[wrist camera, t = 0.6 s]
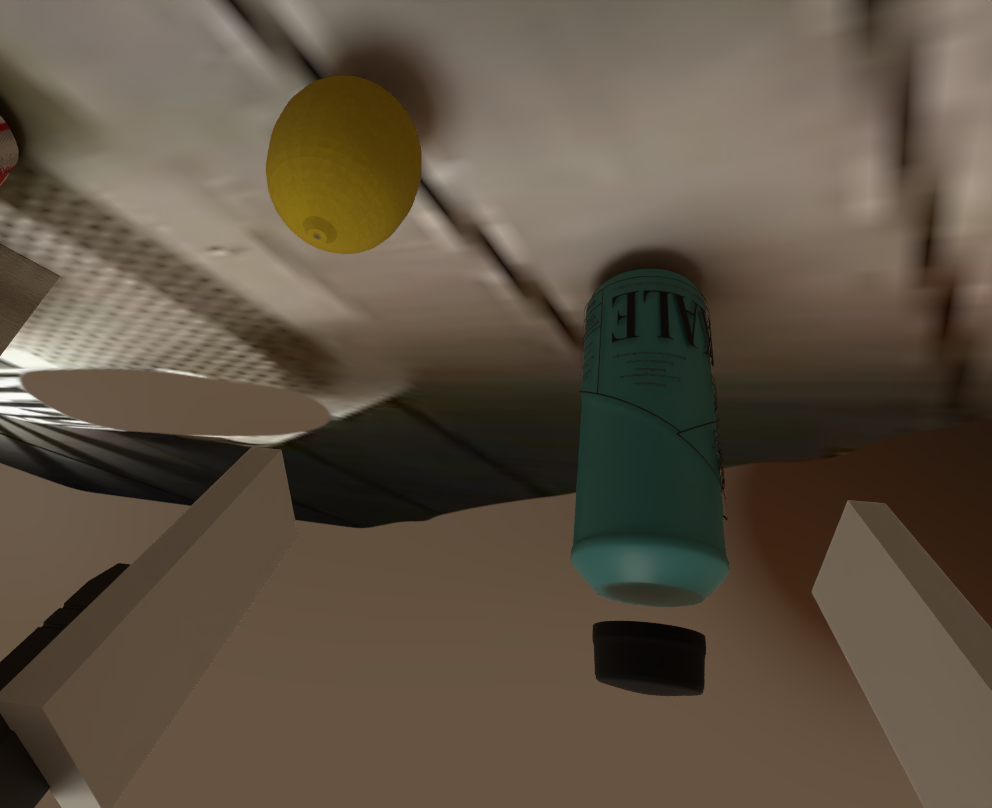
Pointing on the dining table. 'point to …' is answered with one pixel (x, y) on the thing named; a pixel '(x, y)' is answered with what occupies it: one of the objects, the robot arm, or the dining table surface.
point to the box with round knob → (19, 292)
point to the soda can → (7, 151)
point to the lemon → (343, 164)
